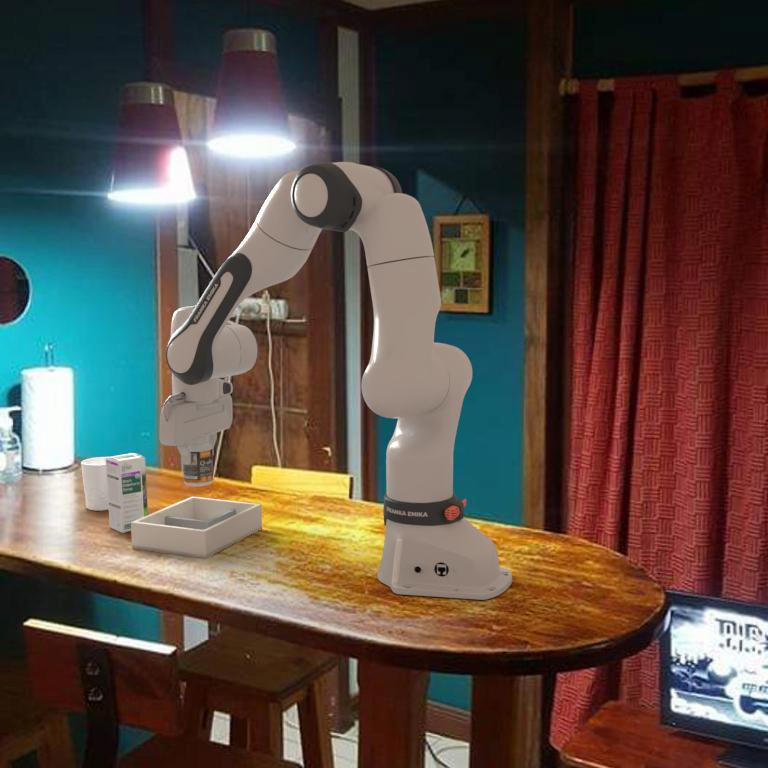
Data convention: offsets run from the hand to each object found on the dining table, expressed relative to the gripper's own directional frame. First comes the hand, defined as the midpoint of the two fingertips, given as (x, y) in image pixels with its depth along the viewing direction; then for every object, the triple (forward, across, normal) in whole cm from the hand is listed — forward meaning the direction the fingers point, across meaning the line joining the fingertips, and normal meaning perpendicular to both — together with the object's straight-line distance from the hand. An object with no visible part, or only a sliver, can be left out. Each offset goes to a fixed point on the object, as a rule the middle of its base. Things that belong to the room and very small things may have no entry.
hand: (198, 460), depth 200 cm
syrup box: (+14, -4, +14) cm, 20 cm away
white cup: (+14, +7, +29) cm, 33 cm away
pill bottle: (+5, 0, 0) cm, 5 cm away
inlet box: (+14, -5, -3) cm, 15 cm away
